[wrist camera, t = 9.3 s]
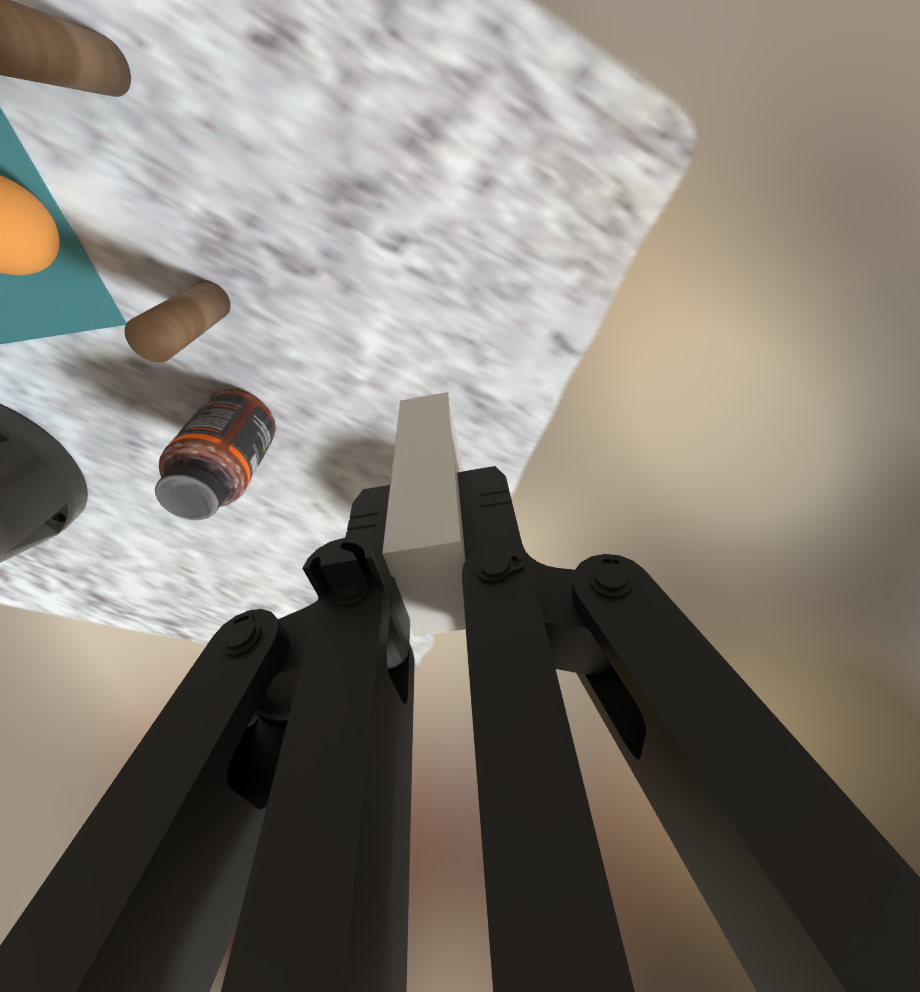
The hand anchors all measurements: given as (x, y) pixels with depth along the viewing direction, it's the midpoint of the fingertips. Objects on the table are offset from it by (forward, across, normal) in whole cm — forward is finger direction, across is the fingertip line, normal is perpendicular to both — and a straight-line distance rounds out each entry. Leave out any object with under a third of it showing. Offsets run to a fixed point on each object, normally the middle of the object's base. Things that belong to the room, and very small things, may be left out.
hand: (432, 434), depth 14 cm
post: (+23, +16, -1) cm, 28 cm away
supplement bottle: (+23, +19, +8) cm, 31 cm away
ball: (+21, +25, -8) cm, 34 cm away
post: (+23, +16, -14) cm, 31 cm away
